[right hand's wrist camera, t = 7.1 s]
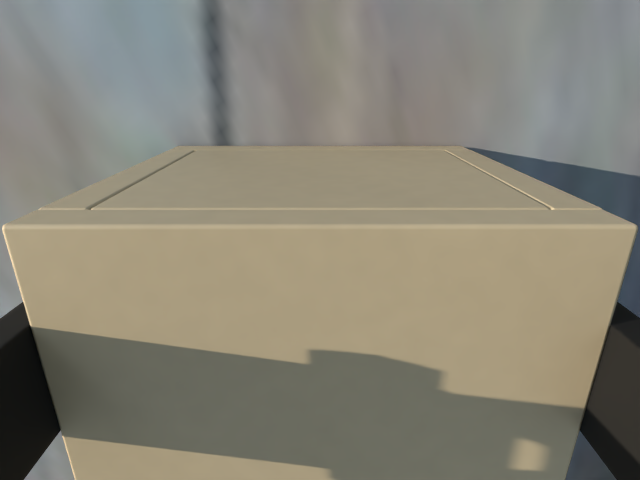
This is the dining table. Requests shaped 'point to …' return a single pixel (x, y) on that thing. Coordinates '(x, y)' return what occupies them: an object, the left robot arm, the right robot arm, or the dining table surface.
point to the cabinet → (320, 315)
